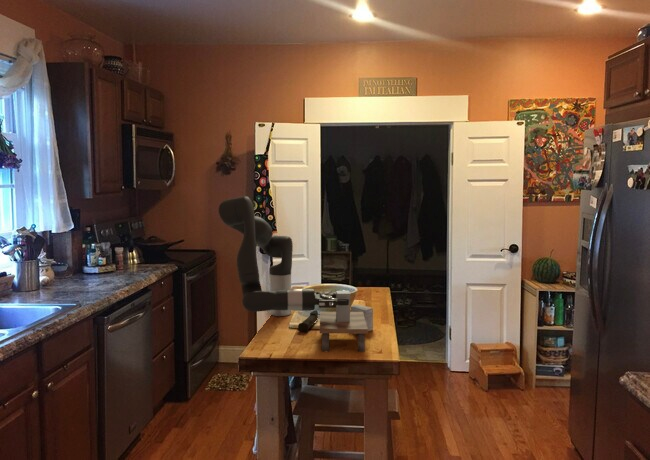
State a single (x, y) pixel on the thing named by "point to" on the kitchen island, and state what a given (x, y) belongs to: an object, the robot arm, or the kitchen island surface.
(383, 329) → the kitchen island surface
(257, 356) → the kitchen island surface
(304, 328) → the hand tool
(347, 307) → the upright block
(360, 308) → the medicine box
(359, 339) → the peg shelf
